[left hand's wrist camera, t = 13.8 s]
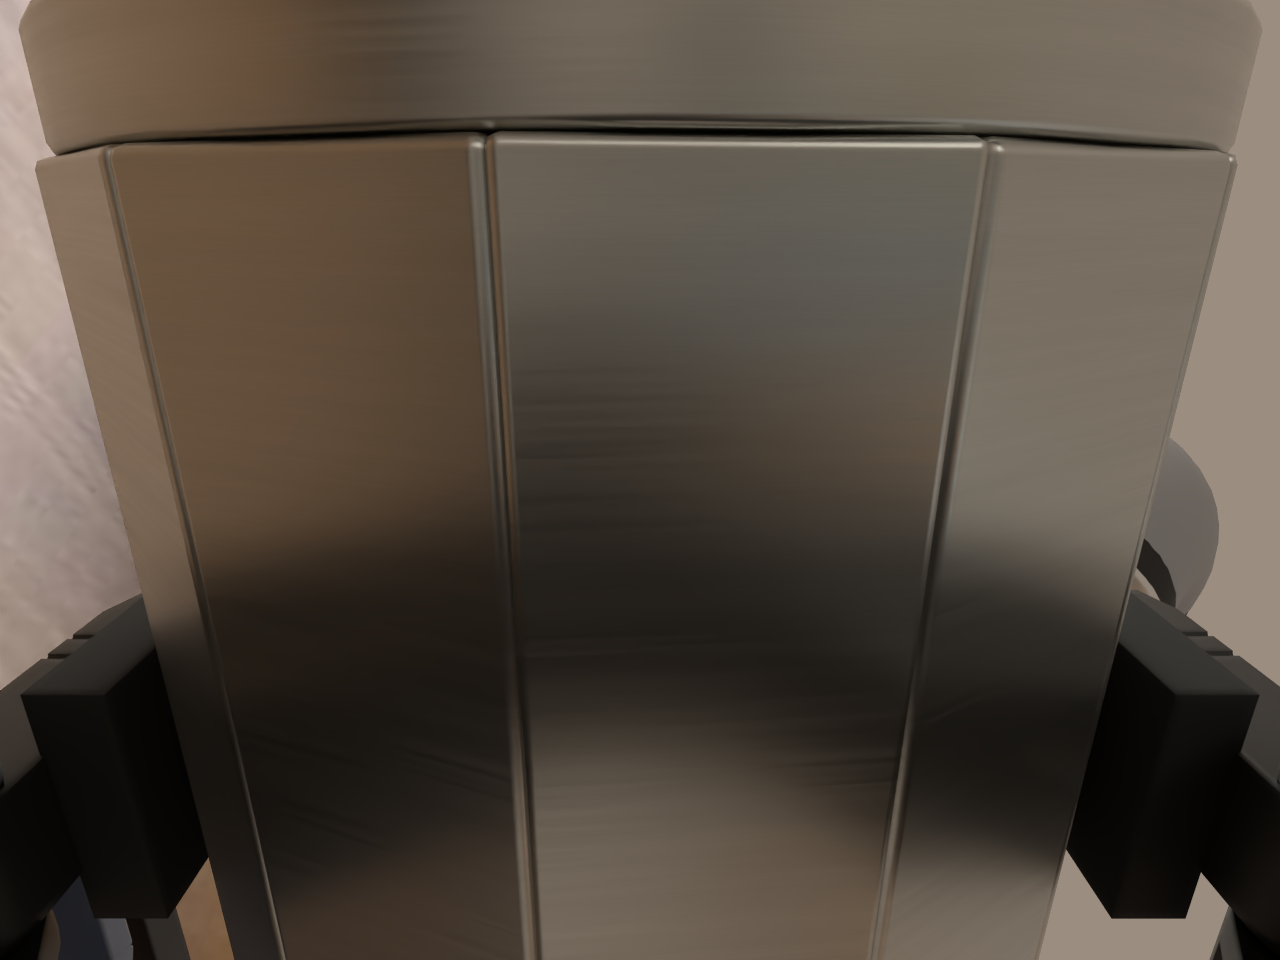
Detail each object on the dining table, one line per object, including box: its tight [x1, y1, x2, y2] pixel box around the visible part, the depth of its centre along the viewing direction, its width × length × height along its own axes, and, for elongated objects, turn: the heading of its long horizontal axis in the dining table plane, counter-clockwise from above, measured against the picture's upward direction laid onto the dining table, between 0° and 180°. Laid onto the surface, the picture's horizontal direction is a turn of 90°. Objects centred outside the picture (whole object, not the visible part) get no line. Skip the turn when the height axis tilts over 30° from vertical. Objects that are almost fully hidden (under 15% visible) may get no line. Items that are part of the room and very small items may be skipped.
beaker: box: [19, 0, 1262, 960], centre depth 9 cm, size 9×10×12 cm
